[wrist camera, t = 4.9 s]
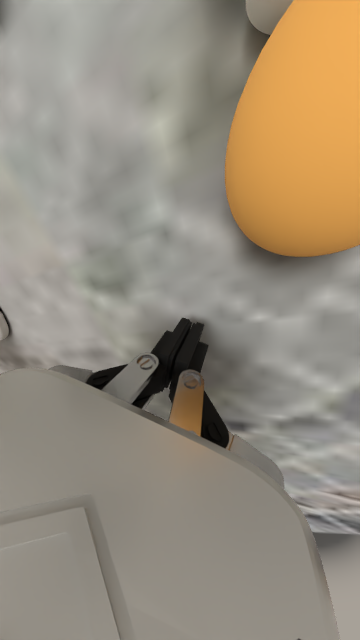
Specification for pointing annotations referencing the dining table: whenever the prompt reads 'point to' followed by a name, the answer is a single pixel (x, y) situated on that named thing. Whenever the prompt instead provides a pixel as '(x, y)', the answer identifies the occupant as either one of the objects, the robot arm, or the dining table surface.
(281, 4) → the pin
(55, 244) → the dining table surface
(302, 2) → the ball
